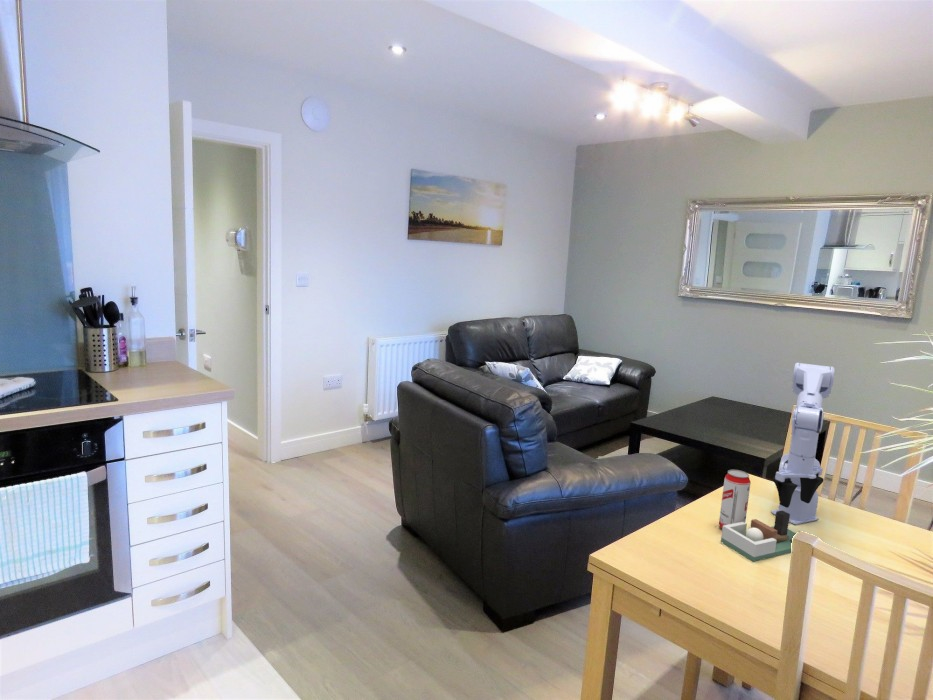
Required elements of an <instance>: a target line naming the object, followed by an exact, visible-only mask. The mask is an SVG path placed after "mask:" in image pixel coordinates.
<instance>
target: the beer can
mask: <svg viewBox="0 0 933 700" xmlns="http://www.w3.org/2000/svg"><path fill="white" fill-rule="evenodd" d="M723 481H724V482H723V486H722V487H723V489H722V496H721V504H720V511H719V518H718V525H719V527H720V529H721V528H723V526H724V525H729V524H734V523H739V522H745V523H746V522H747V513H748V505H749V498H750V497H749V496H750V488H751V482H752V481H751V479H750V474H749V473H748V472H746V471H745V470H744V471H743V470H739V469H729V470H727V474H725V477H724V480H723Z"/></svg>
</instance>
